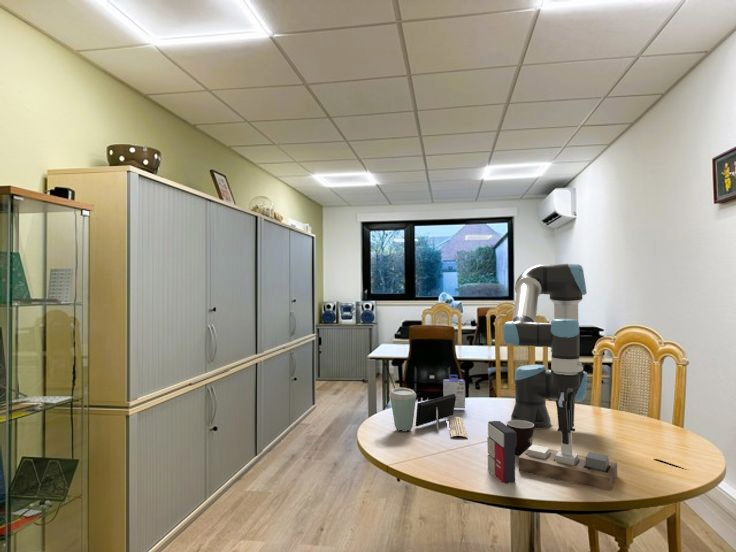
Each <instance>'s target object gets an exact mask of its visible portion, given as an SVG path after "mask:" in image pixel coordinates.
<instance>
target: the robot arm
mask: <svg viewBox="0 0 736 552" xmlns="http://www.w3.org/2000/svg"><path fill="white" fill-rule="evenodd" d="M585 279H586V277H585V274H584V268H583V266H582V265H581V264H579V263H577V264H576V263H554V264H550V263H549V264H537V265H536V264H535V265H533V266H531V267H528V269H526V270H524V271H523V272H522V273H521V274H520V275H519V276H518V278H517V279H516V281H515V285H514V290H515V293H516V295H515V300H514V301H515V302H514V306H513V307H514V308H513V313H512V319H511V321H506V322H504V324H503V329H502V330H503V331H502V332H503V333H502V334H503V335H502V336H503V342H504V344H506V345H511V346H517V347H518V346H519V347H520V346H521V347H522V346H526V347H546V348H547V347H549V348H551V357H550V358H551V362H550V363H551V366H550V369H546V368H547V367H546V365H544V364H543V365H542V364H525V365H521V366H519V367H517V368H515V372H514V374H515V375H514V383H515V386H514V389H515V390H514V391H515V397H514V398H515V401H514V402H515V404H514V406H513V410H512V411H511V416H510V420H523V421H528V422H531V423H533V424H534V429H546V428H549V427H550V426H551V425H552V422H551V421H552V419H551V416H550V414H549V410H548V408H547V405H546V404H547V403H546V400H551V401H552V400H555V406H556V411H557V412H556V415H557V423H558V424H557V425H558V428H557V432H560V450H561V454H565V455H569V456H571V455H572V453H573V432H576V428H574V427H575V407H576V406H575V404H576V403H575V402H583V401H584V399H585V397H586V394H587V386H588V372H587V371H585V370H584V367H583V366H582V365H583V362H581V361H580V332H581V331H580V327H579V326H580V324H579V303H580V302H582V301H583V296H585V295H587V292H588V291H587V286H586V285H587V284H586V280H585ZM540 295H549V300H550V301H551V302H552V303H553V319H552V320H551V322H537V315H538V314H537V312H538V302H539V301H538V300H539V296H540Z"/></svg>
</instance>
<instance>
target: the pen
mask: <svg viewBox="0 0 736 552" xmlns="http://www.w3.org/2000/svg"><path fill="white" fill-rule="evenodd" d="M653 461H656V462H659V463H661V464H666V465H669V466H672V467H675V468H678V469H681V470H686V471H688V469H687V468H684V467H681V466H679V465H677V464H673V463H670V462H668V461H664V460H663V459H662V460H661V459H658V458H653Z"/></svg>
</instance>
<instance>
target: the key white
mask: <svg viewBox="0 0 736 552" xmlns="http://www.w3.org/2000/svg"><path fill="white" fill-rule="evenodd" d="M549 449H550V447H546V446H541V445H538V444H532V446H530V447H529V448H528V449H527V455H529V456H533V457H538V458H542V459H547V458H548V457H549V456H550V450H549Z"/></svg>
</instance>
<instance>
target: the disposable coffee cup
mask: <svg viewBox="0 0 736 552" xmlns="http://www.w3.org/2000/svg"><path fill="white" fill-rule="evenodd" d="M388 396H389V398H390V404H391V411H392V415H393V422H394V427H395V429H398V430H397V431H399V430H402V431H401V432H408V431H407V430H409V431H411V430H412V429H413V425H414V417H415V408H416V402H417V393H416V392H415V390H414V389H411V388H407V387H394V388H392V389H390V393H389V394H388Z"/></svg>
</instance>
